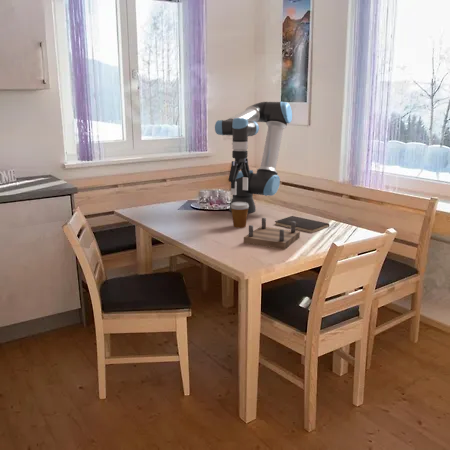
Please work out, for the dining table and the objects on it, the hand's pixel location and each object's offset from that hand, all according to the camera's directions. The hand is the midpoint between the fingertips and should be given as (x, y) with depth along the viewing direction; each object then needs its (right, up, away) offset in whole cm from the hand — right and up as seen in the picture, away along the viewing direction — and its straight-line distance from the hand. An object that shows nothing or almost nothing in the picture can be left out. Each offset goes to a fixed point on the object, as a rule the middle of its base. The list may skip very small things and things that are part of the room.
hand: (239, 192), depth 250 cm
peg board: (+15, -24, -18) cm, 33 cm away
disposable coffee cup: (0, -17, +5) cm, 18 cm away
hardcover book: (+32, -17, +7) cm, 37 cm away
